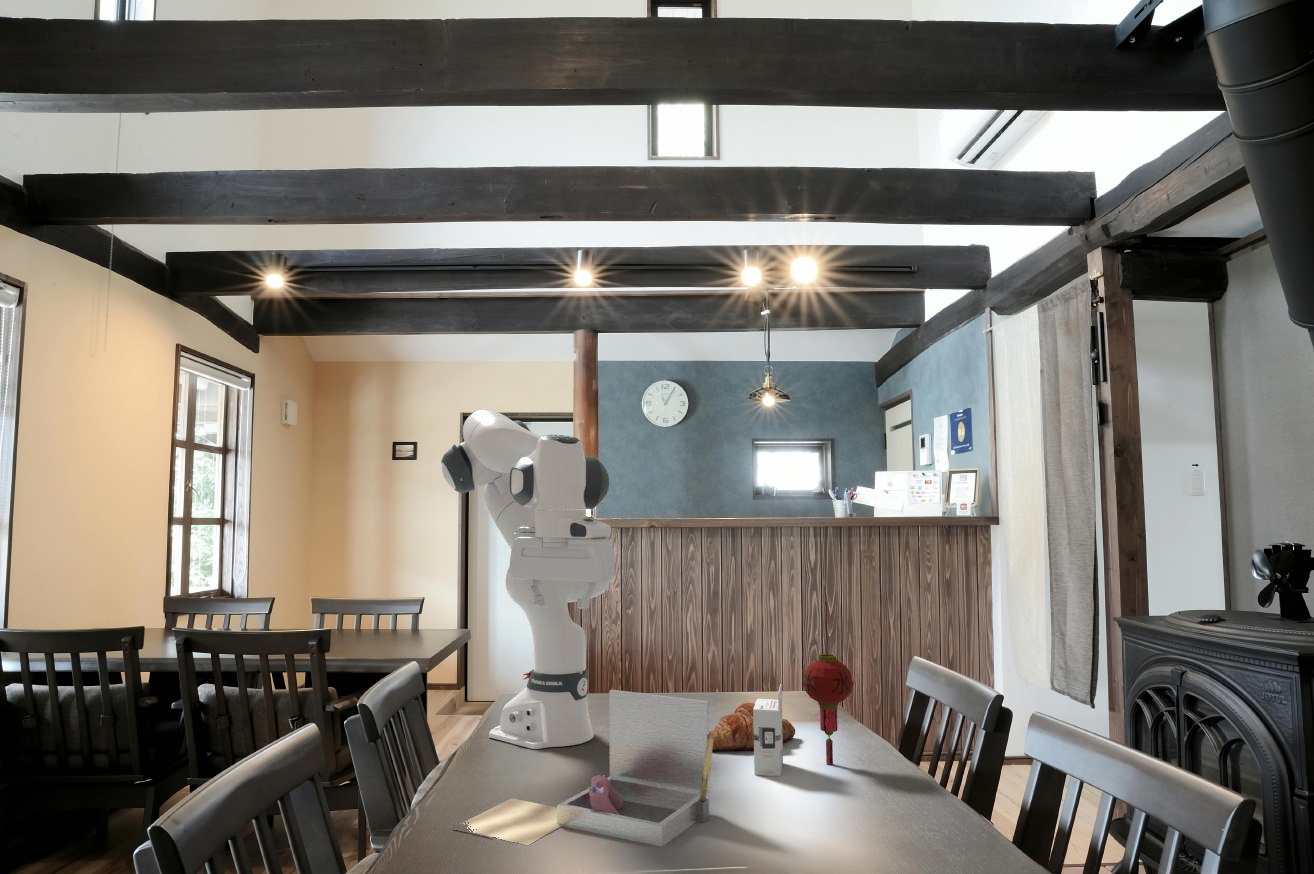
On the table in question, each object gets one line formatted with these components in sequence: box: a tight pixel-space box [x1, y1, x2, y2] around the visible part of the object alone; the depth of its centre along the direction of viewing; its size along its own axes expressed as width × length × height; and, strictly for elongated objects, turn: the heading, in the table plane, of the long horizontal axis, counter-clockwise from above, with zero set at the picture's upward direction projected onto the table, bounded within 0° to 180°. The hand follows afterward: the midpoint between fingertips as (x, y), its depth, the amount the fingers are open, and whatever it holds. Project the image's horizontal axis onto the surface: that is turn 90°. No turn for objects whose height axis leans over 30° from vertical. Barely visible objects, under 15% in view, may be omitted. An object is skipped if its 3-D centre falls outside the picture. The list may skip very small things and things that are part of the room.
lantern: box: [802, 601, 854, 766], centre depth 157 cm, size 10×10×30 cm
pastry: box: [709, 702, 796, 752], centre depth 170 cm, size 17×15×8 cm
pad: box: [460, 797, 564, 847], centre depth 127 cm, size 14×14×1 cm
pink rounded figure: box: [588, 774, 624, 815], centre depth 128 cm, size 10×5×7 cm, turn 2°
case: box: [556, 689, 714, 847], centre depth 129 cm, size 19×16×18 cm
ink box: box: [753, 683, 784, 777], centre depth 154 cm, size 9×5×15 cm, turn 168°
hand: (560, 607), depth 144 cm, fingers open, 8 cm apart
